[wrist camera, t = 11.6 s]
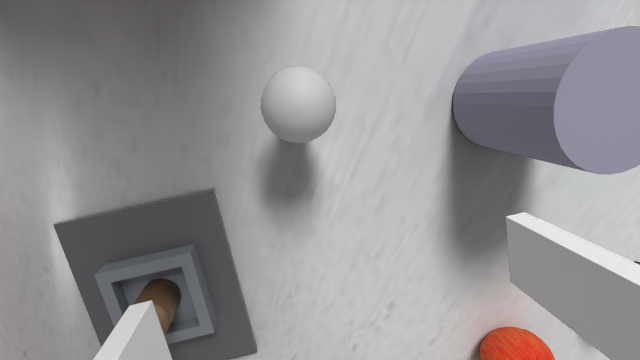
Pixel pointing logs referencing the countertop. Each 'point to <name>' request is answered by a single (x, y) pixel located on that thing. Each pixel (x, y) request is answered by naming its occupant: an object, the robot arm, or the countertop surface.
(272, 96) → the lightbulb
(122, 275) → the socket
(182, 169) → the countertop surface
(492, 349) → the apple
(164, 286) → the peg
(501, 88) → the container
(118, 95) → the countertop surface
